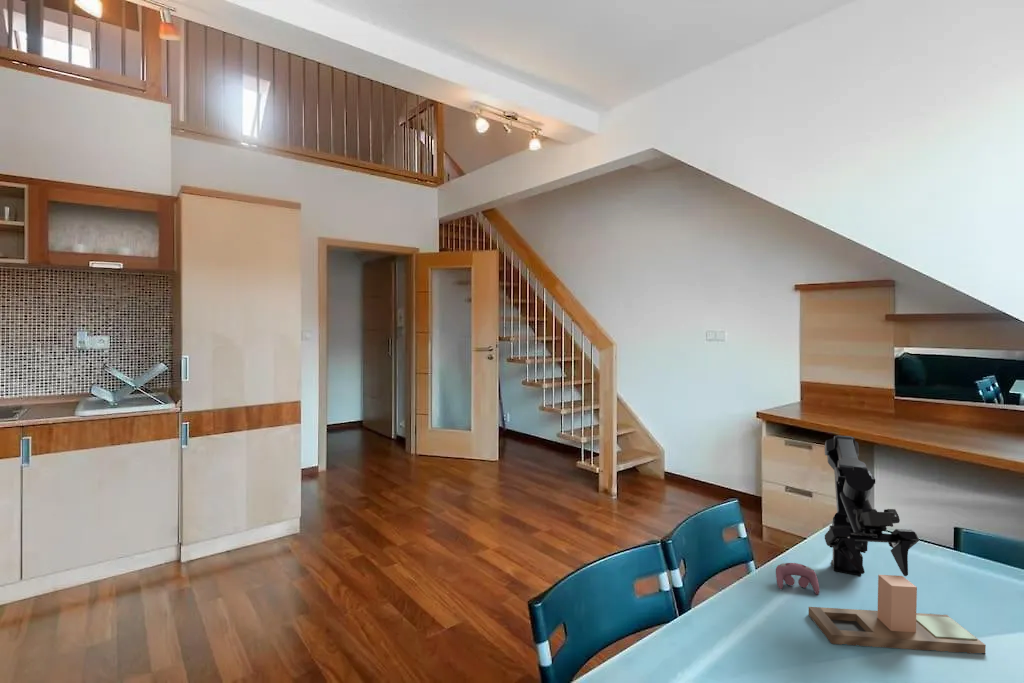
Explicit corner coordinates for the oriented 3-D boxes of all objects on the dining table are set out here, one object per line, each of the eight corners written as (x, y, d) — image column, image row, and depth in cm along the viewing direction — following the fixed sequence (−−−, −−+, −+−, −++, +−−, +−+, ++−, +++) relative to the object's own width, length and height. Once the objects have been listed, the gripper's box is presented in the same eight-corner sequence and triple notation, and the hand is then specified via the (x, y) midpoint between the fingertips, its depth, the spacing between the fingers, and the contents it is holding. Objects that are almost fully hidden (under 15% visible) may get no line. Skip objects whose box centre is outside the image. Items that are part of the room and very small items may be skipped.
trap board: (831, 643, 109) (831, 633, 109) (808, 614, 120) (808, 605, 120) (985, 654, 106) (985, 643, 106) (946, 623, 117) (947, 613, 117)
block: (891, 630, 111) (891, 585, 110) (877, 617, 116) (878, 574, 115) (915, 632, 110) (916, 587, 110) (901, 619, 115) (902, 575, 115)
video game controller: (817, 595, 132) (814, 566, 135) (821, 595, 128) (818, 565, 131) (775, 588, 135) (773, 560, 138) (778, 589, 131) (776, 559, 134)
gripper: (830, 493, 123) (854, 559, 112) (914, 496, 121) (947, 563, 110) (815, 513, 131) (836, 576, 120) (893, 517, 129) (922, 581, 118)
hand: (884, 574), depth 117 cm, fingers open, 9 cm apart
